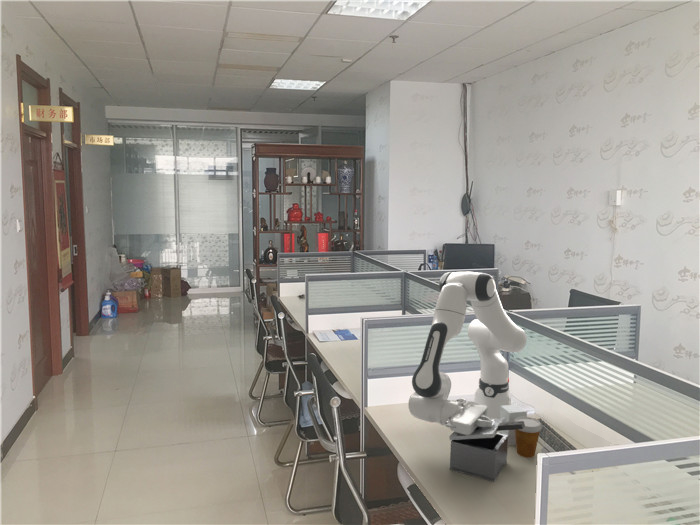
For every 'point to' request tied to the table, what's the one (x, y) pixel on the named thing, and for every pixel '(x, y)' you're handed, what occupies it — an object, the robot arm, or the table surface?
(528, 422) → the disposable coffee cup
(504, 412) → the supplement box
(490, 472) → the open gray square box
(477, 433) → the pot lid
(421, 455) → the table surface
